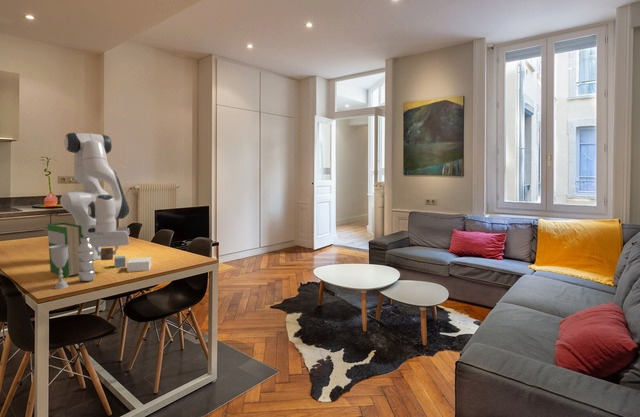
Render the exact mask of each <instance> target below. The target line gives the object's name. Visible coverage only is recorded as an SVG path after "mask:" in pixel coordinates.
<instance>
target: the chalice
mask: <svg viewBox="0 0 640 417" xmlns="http://www.w3.org/2000/svg"><path fill="white" fill-rule="evenodd" d="M68 247H69V245H55V246H50V247H49V246H48V249H49V248H50V251H51V259H52V261H53V263H54V265H55V266H56V267H58V268H59V274H60V275H58V276H57V277H58V278H59V281H58V282H56V284H55V287H54V289H55V290H62V289H67V288H68V287H69V285H68V283H67V281H65V280H64V279H63V278H64V277H63V275H62V272H63V271H62V267H64V266H65V264H66V262H67V259H68V257H69V256H68Z"/></svg>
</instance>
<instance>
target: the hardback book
mask: <svg viewBox="0 0 640 417" xmlns="http://www.w3.org/2000/svg"><path fill="white" fill-rule="evenodd" d="M47 235H48V236H47V237H48V239H47V240H48V253H49V254H48V255H49V267H50V269H49V272H50V273H53V274H54V275H58V276H59V275H60V274H59V268H58V267H56V266H55V265H54V263H53V261H52V259H51V251H50V248H49V247H50V246H55V245H69V247H68V256H69V257H68V259H67V262H66V264H65V266H64V267H62V271H63V272H62V275H63V278H66V279H68V278H70V276H75V275H79V266H80V263H79V262H80V261H79V256H78V251H77V250H78V247H79V246H80V244H81V242H80V241H81V240H80V238H82V226H80V225H76V223H75V224H74V223H68V222H57V223H48V224H47Z"/></svg>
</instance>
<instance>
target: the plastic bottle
mask: <svg viewBox="0 0 640 417" xmlns="http://www.w3.org/2000/svg"><path fill="white" fill-rule="evenodd" d="M80 240H81V241H80V242H81V244H80V246H79V247H78V250H77V251H78V256H79V261H80V262H79V263H80V266H79V274H77V275H78V280H79V281H81V282H90V281H93V280H95V278H96V271H95V266H94V260H93V256H94V247H93V245H92V244H91V243H90V237H83V238H80Z"/></svg>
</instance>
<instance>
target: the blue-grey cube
mask: <svg viewBox="0 0 640 417" xmlns="http://www.w3.org/2000/svg"><path fill="white" fill-rule="evenodd" d="M113 259H114V260H113V261H114V269H116V268H127V262H126V255H120V256H119V255H118V256H116V255H115V256H114V257H113Z"/></svg>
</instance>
